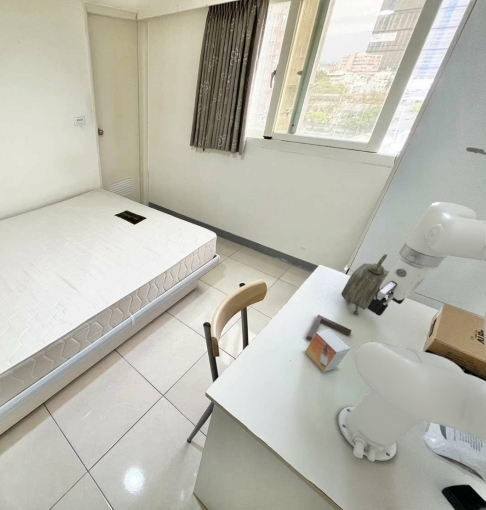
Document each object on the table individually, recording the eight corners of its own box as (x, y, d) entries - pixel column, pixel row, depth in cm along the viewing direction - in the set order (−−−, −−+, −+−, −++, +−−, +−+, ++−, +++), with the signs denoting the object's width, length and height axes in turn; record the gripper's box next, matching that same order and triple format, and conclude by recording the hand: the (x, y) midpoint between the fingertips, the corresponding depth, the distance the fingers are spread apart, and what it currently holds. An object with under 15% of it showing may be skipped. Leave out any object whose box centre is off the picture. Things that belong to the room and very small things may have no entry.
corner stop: (341, 357, 91) (343, 353, 90) (305, 338, 97) (307, 335, 96) (349, 333, 99) (351, 330, 98) (316, 318, 105) (318, 314, 104)
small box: (304, 352, 92) (315, 332, 87) (317, 348, 94) (329, 328, 88) (323, 373, 86) (336, 352, 80) (336, 368, 88) (351, 348, 82)
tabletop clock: (357, 319, 105) (391, 268, 91) (333, 305, 111) (361, 255, 97) (372, 303, 112) (405, 254, 98) (349, 291, 118) (377, 243, 104)
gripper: (421, 273, 58) (380, 326, 68) (458, 253, 64) (416, 305, 74) (383, 255, 63) (351, 307, 73) (420, 239, 70) (386, 288, 80)
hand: (384, 306), depth 74 cm, fingers open, 9 cm apart
